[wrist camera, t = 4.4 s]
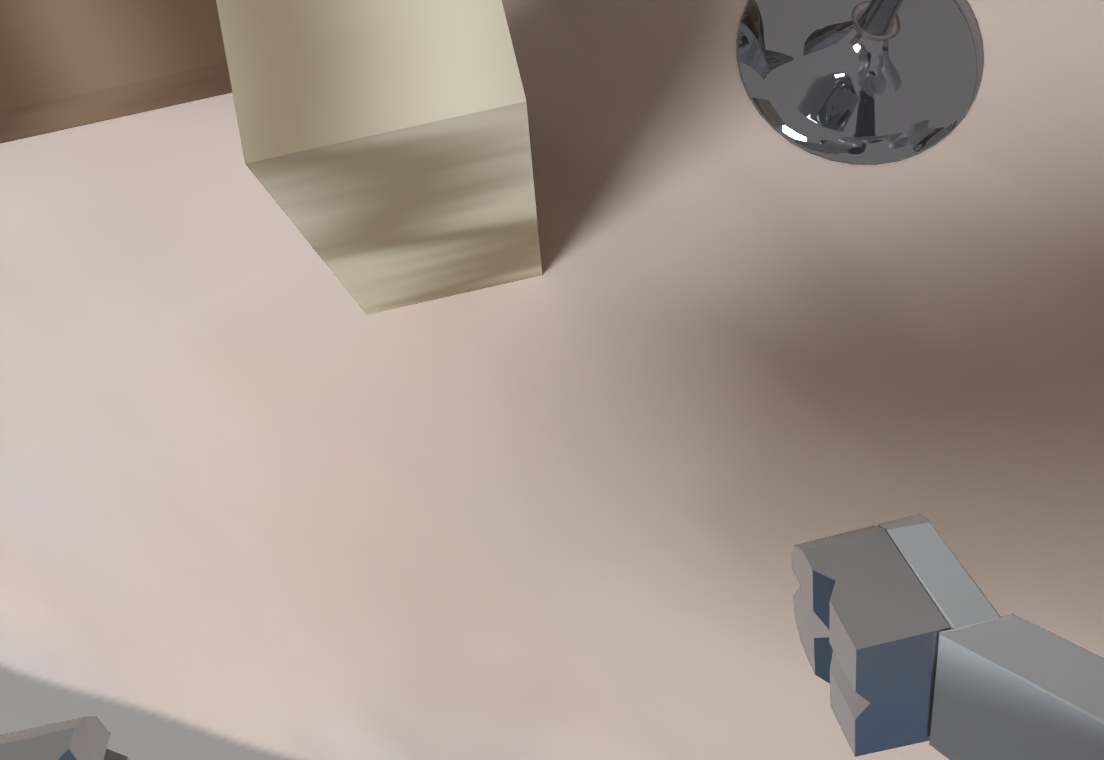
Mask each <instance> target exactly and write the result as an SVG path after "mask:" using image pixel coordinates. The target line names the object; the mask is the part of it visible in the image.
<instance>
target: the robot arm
mask: <svg viewBox="0 0 1104 760" xmlns="http://www.w3.org/2000/svg"><path fill="white" fill-rule="evenodd" d="M792 570H793V572H794V574H795V576H796V578H797V580H798V582H799V584H800V588H799V589H798V590H797V592H796V593H795V595H794V596H793V599H794V611H795V619H796V623H797V628H798V632H799V636H800V640H801V643H802V645H803V648H804V651H805V653H806V656H807V658H808V660H809V663H810V665H811V667H812V669H813V671H814V673H815V675H817V676H818V677H820V678H821V679H823V680H825V681H826V682H828V683H830V704H831V709H832V711H833V713H834V715H835V717H836V719H837V721H838V723H839V725H840V727H841V729H842V731H843V733H844V735H845V737H846V739H847V741H848V743H849V745H850V747H851V749H852V751H853V754H854V756H855V757H856V756H860V755H865V754H870V753H874V752H879V751H883V750H888V749H892V748H897V747H902V746H906V745H911V744H915V743H920V742H925V741H929V740H930V742H929V745H931V746H932V747H934V748H935V749H936V750H938V751H939V752H940V753H942V754H943V755H944V756H946V757H947V758H948V759H950V760H1104V658H1102V657H1100V656H1098V655H1096V654H1093V653H1091V652H1089V651H1087V650H1085V649H1083V648H1081V647H1079V646H1077V645H1075V644H1073V643H1071V642H1069V641H1067V640H1065V639H1063V638H1061V637H1059V636H1057V635H1055V634H1053V633H1051V632H1049V631H1047V630H1045V629H1043V628H1041V627H1039V626H1037V625H1035V624H1033V623H1031V622H1028V621H1026V620H1024V619H1022V618H1020V617H1018V616H1016V615H1014V614H1013V615H1008V616H1004V617H1001V616H1000V615H999V614H998V612H997V611H996V610H995V608H994V607H993V606H992V604H991V603H990V602H989V600H988V599H987V598H986V596H985V595H984V594H983V592H982V591H981V590H980V588H979V587H978V586H977V584H976V583H975V582H974V580H973V579H972V577H971V576H970V575H969V573H968V572H967V571H966V569H965V568H964V567H963V565H962V564H961V563H960V561H959V560H958V559H957V557H956V556H955V555H954V553H953V552H952V551H951V549H950V548H949V547H948V545H947V544H946V543H945V541H944V540H943V538H942V537H941V536H940V534H939V533H938V532H937V530H936V529H935V528H934V526H933V525H932V524H931V522H930V521H929V520H928V519H927V518H925V517H923V516H922V515H916V516H912V517H907V518H903V519H899V520H895V521H891V522H887V523H883V524H879V525H877V526H870V527H866V528H862V529H858V530H854V531H850V532H846V533H842V534H838V535H834V536H830V537H826V538H822V539H818V540H814V541H810V542H806V543H802V544H798V545H794V548H793V551H792ZM109 737H110V732H109V731H108V730H107V728H106V727H105V726H104V725H103V724H102V722H101V721H100V720H99V719H98V717H97V716H90V717H82V718H77V719H72V720H67V721H63V722H58V723H53V724H49V725H44V726H39V727H35V728H30V729H26V730H21V731H16V732H11V733H7V734H2V735H0V760H129V759H128V757H126V756H124V755H121V754H119V753H116V752H113V751H111V750H109V749H106V748H107V744H108V741H109Z"/></svg>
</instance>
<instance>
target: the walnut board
mask: <svg viewBox="0 0 1104 760" xmlns="http://www.w3.org/2000/svg"><path fill="white" fill-rule="evenodd" d="M231 92H232V87H231V81H230V76H229V70H228V64H227V59H226V53H225V48H224V42H223V36H222V31H221V25H220V19H219V14H218V8H217V3H216V0H0V143H3V142H8V141H13V140H17V139H22V138H26V137H31V136H35V135H40V134H44V133H49V132H53V131H58V130H62V129H67V128H72V127H76V126H81V125H85V124H90V123H94V122H99V121H103V120H108V119H112V118H117V117H122V116H126V115H131V114H135V113H140V112H144V111H149V110H153V109H158V108H162V107H167V106H172V105H176V104H181V103H185V102H190V101H194V100H199V99H203V98H208V97H212V96H217V95H221V94H226V93H231Z"/></svg>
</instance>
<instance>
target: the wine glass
mask: <svg viewBox="0 0 1104 760" xmlns="http://www.w3.org/2000/svg"><path fill="white" fill-rule="evenodd" d="M737 61H738V66H739V71H740V76H741V79H742V82H743V84H744V87H745V89H746V91H747V94H748V96H749V98H750V99H751V101H752V103H753V104H754V106H755V107H756V109H757V110H758V112H759V114H760V115H761V116H762V117H763V118H764V119H765V120H766V121H767V122H768V123H769V125H770V126H771V127H772V128H773V129H774V130H775V131H777V132H778V133H779V134H781V135H782V136H783V137H784V138H786V139H787V140H788V141H790V142H791V143H793V144H794V145H796V146H798V147H800V148H802V149H804V150H805V151H807V152H809V153H811V154H814V155H817V156H820V157H823V158H826V159H828V160H831V161H837V162H843V163H848V164H861V165H877V164H883V163H890V162H897V161H900V160H903V159H906V158H909V157H912V156H915V155H918V154H920V153H921V152H923V151H925V150H927V149H929V148H931V147H933V146H935V145H936V144H937V143H939V142H940V141H941V140H942V139H944V138H945V137H946V136H947V135H949V134H950V133H951V132H952V131H953V130H954V129H955V128H956V127H957V125H958V124H959V123H960V122H961V121H962V120H963V118H964V117H965V116H966V114H967V112H968V110H969V109H970V107H971V105H972V103H973V102H974V100H975V97H976V94H977V91H978V88H979V85H980V82H981V75H982V68H983V50H982V40H981V36H980V32H979V28H978V25H977V21H976V19H975V17H974V15H973V13H972V11H971V9H970V6H969V4H968V3H967V1H966V0H748V1H747V4H746V6H745V9H744V11H743V14H742V16H741V19H740V23H739V29H738V34H737Z"/></svg>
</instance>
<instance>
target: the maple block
mask: <svg viewBox="0 0 1104 760" xmlns="http://www.w3.org/2000/svg"><path fill="white" fill-rule="evenodd" d="M216 3H217V8H218V14H219V19H220V25H221V31H222V36H223V42H224V48H225V53H226V59H227V64H228V70H229V76H230V81H231V87H232V92H233V98H234V104H235V109H236V115H237V120H238V126H239V132H240V137H241V143H242V149H243V154H244V160H245V164H246V165H247V166H248V168H249V169H250V170H251V171H252V173H253V174H254V175H255V176H256V178H257V179H258V180H259V181H260V183H261V184H262V185H263V186H264V188H265V189H266V190H267V191H268V193H269V194H270V195H271V196H272V198H273V199H274V200H275V201H276V203H277V204H278V205H279V206H280V207H281V209H282V210H283V211H284V212H285V214H286V215H287V216H288V217H289V219H290V220H291V221H292V222H293V224H294V225H295V226H296V227H297V229H298V230H299V231H300V232H301V234H302V235H303V236H304V237H305V239H306V240H307V241H308V242H309V244H310V245H311V246H312V247H313V249H314V250H315V251H316V252H317V254H318V255H319V256H320V257H321V258H322V260H323V261H324V262H325V263H326V265H327V266H328V267H329V268H330V270H331V271H332V272H333V273H334V275H335V276H336V277H337V278H338V280H339V281H340V282H341V283H342V285H343V286H344V287H345V288H346V290H347V291H348V292H349V293H350V295H351V296H352V297H353V298H354V300H355V301H356V302H357V303H358V305H359V306H360V307H361V308H362V309H363V311H364V312H365V313H366V314H367V315H368V314H373V313H377V312H381V311H386V310H390V309H395V308H399V307H403V306H408V305H412V304H417V303H421V302H425V301H430V300H434V299H439V298H443V297H447V296H452V295H456V294H461V293H465V292H469V291H474V290H478V289H483V288H487V287H491V286H496V285H500V284H505V283H509V282H513V281H518V280H522V279H527V278H531V277H535V276H540V275H542V266H541V256H540V245H539V234H538V223H537V212H536V201H535V190H534V179H533V168H532V157H531V146H530V135H529V124H528V113H527V102H526V98H525V93H524V89H523V85H522V81H521V77H520V73H519V69H518V65H517V61H516V57H515V53H514V49H513V44H512V40H511V36H510V32H509V28H508V24H507V20H506V16H505V12H504V8H503V4H502V0H216Z"/></svg>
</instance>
